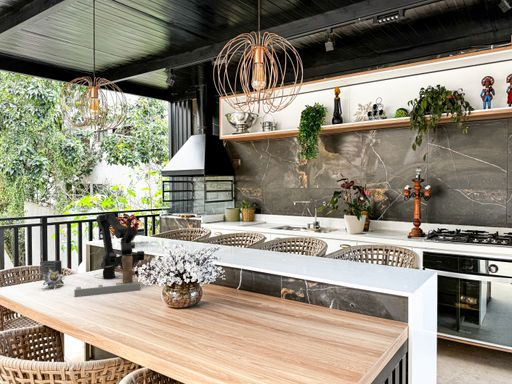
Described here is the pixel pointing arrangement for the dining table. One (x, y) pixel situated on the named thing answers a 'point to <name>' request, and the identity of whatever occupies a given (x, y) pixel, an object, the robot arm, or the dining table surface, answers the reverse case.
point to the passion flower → (52, 279)
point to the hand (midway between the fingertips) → (127, 269)
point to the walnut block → (127, 269)
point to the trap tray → (107, 289)
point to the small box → (51, 267)
